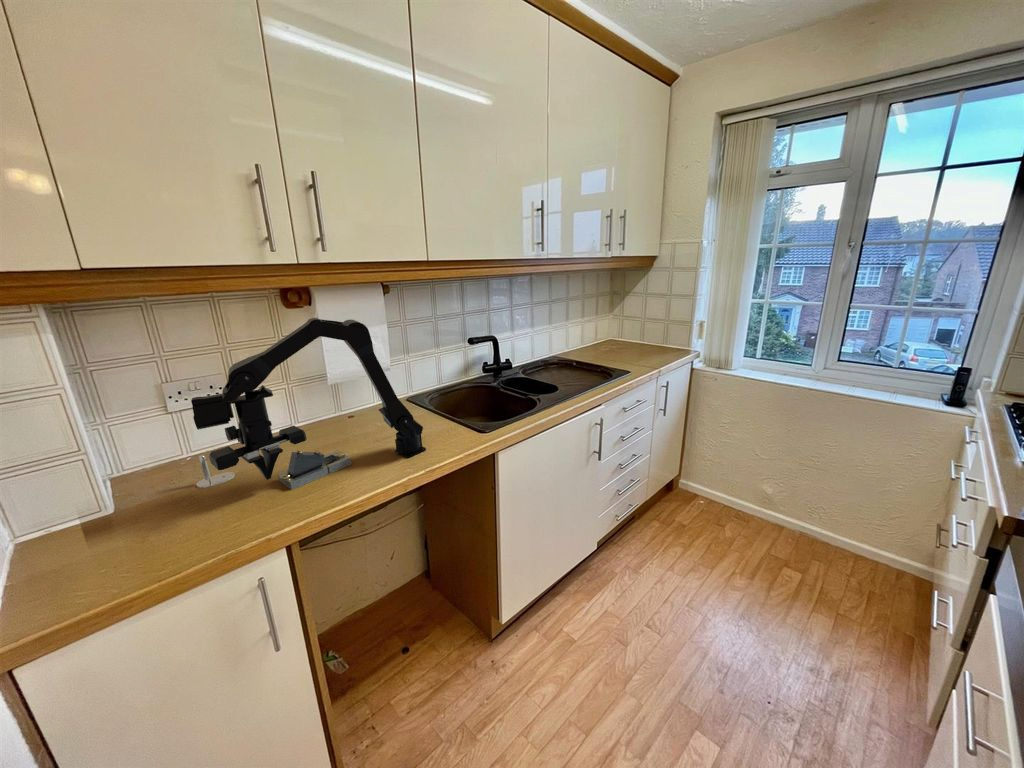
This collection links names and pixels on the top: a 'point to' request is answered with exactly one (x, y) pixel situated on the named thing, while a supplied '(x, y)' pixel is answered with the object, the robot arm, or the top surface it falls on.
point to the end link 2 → (336, 461)
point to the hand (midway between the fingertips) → (268, 478)
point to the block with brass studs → (305, 462)
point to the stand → (212, 479)
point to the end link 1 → (301, 477)
